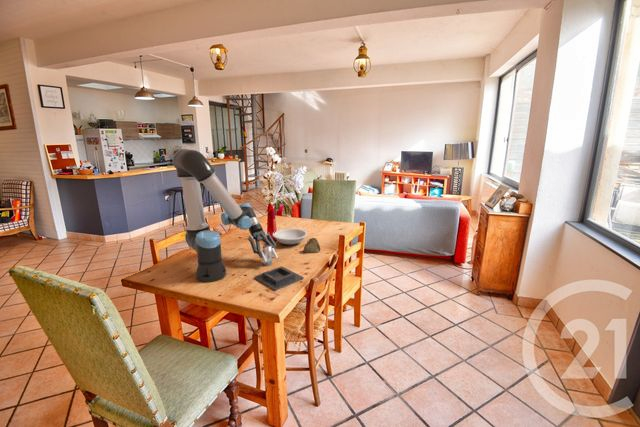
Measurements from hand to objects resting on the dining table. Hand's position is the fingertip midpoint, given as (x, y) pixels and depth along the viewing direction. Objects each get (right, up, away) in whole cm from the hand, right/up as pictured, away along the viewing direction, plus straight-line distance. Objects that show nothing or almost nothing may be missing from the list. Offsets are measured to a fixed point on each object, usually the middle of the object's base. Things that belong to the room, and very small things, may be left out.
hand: (271, 260), depth 170 cm
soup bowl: (+7, +6, +39) cm, 40 cm away
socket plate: (+6, -7, -14) cm, 17 cm away
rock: (+22, +2, +23) cm, 32 cm away
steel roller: (-2, -3, +3) cm, 5 cm away
